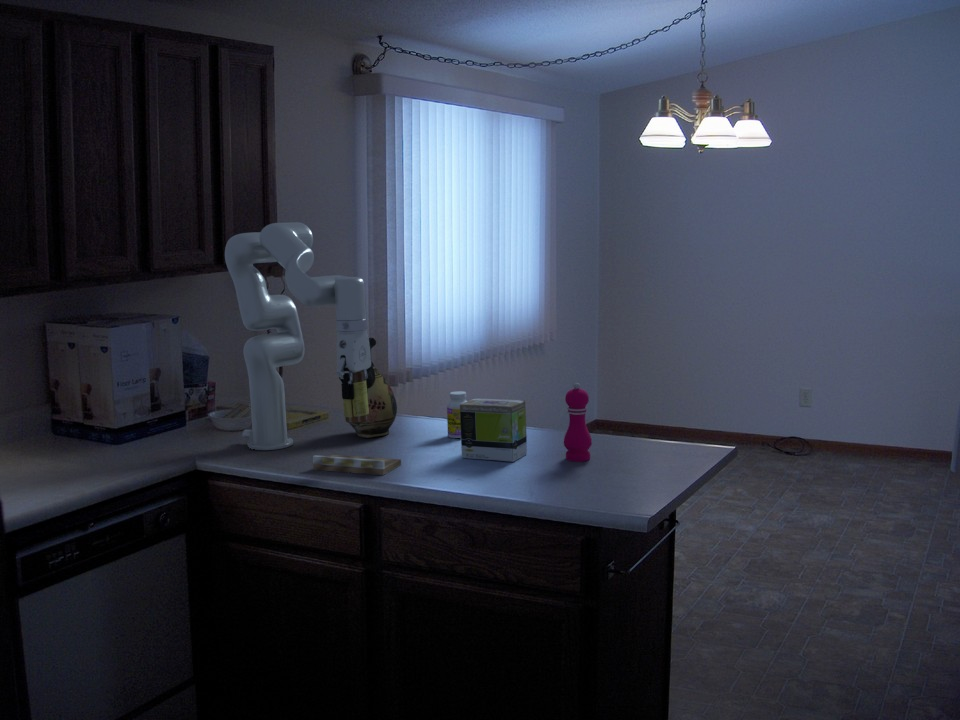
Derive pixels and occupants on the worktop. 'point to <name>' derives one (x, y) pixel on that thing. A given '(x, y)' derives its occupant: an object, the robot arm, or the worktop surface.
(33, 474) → the worktop surface
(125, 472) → the worktop surface
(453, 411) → the supplement bottle
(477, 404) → the tea box
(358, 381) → the sauce bottle
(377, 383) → the ceramic jug
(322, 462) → the tan white-edged panel
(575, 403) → the pepper mill
